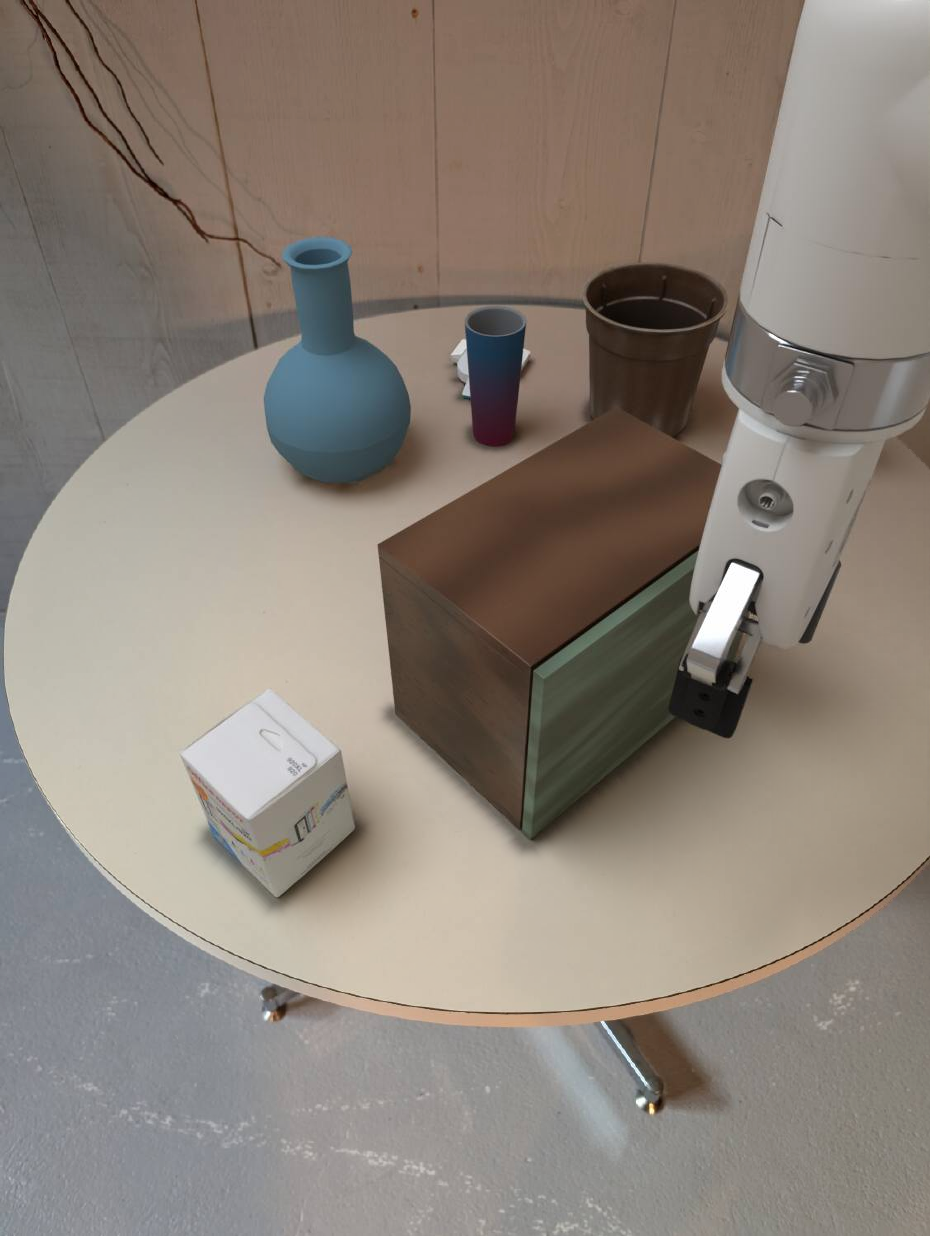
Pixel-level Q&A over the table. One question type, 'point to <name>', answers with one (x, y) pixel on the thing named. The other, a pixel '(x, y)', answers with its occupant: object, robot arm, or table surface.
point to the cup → (494, 371)
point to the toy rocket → (462, 366)
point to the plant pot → (650, 339)
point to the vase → (333, 378)
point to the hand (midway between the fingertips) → (736, 656)
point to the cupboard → (530, 584)
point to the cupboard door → (612, 693)
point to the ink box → (271, 790)
